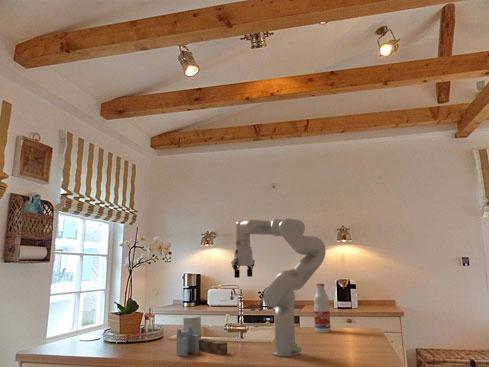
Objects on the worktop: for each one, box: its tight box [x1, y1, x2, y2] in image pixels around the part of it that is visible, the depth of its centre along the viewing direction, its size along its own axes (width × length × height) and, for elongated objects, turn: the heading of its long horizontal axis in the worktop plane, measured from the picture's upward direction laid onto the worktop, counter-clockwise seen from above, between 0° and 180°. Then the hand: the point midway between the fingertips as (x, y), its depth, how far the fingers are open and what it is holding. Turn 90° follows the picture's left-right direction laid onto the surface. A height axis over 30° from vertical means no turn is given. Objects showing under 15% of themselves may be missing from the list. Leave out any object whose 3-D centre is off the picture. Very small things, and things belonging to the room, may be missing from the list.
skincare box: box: [183, 315, 202, 340], centre depth 216 cm, size 8×6×15 cm
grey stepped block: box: [176, 327, 200, 357], centre depth 199 cm, size 6×9×12 cm
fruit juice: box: [313, 283, 331, 334], centre depth 247 cm, size 9×9×28 cm
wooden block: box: [199, 338, 228, 356], centre depth 201 cm, size 16×4×5 cm, turn 48°
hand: (243, 277), depth 214 cm, fingers open, 9 cm apart
